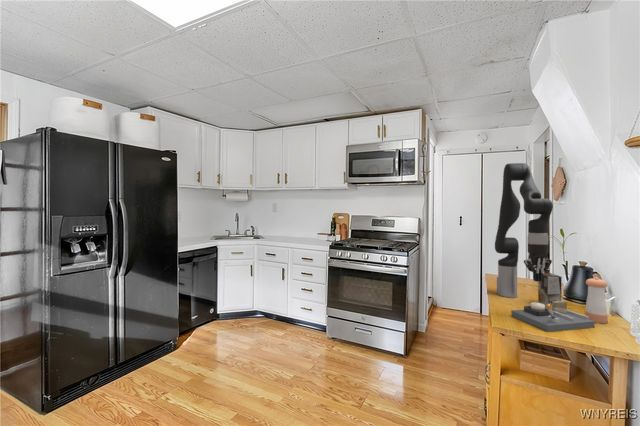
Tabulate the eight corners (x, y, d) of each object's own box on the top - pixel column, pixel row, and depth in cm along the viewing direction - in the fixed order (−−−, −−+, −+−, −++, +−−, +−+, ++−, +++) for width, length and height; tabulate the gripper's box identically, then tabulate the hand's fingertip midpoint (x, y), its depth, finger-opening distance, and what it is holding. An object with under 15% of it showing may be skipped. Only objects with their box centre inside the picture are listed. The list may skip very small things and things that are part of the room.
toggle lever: (549, 318, 123) (543, 304, 122) (552, 316, 123) (547, 302, 123) (553, 320, 121) (548, 306, 120) (557, 317, 121) (552, 304, 121)
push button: (527, 308, 134) (527, 302, 134) (537, 307, 135) (537, 301, 135) (538, 312, 129) (538, 306, 129) (548, 311, 130) (548, 305, 130)
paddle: (552, 312, 132) (552, 301, 132) (563, 311, 133) (563, 300, 133) (555, 313, 131) (555, 302, 131) (566, 312, 132) (566, 301, 132)
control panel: (511, 315, 136) (511, 306, 136) (553, 312, 140) (553, 303, 140) (548, 331, 118) (548, 320, 118) (594, 327, 122) (594, 316, 122)
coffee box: (562, 309, 144) (562, 276, 144) (547, 308, 145) (547, 276, 145) (551, 303, 153) (551, 272, 153) (537, 302, 154) (537, 272, 154)
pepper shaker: (612, 322, 127) (612, 278, 126) (598, 324, 125) (598, 279, 125) (594, 316, 134) (594, 275, 134) (580, 317, 133) (580, 275, 132)
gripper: (542, 241, 137) (542, 278, 137) (517, 242, 134) (517, 279, 135) (558, 243, 129) (558, 282, 130) (532, 244, 127) (532, 283, 127)
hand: (537, 281), depth 132 cm, fingers closed
